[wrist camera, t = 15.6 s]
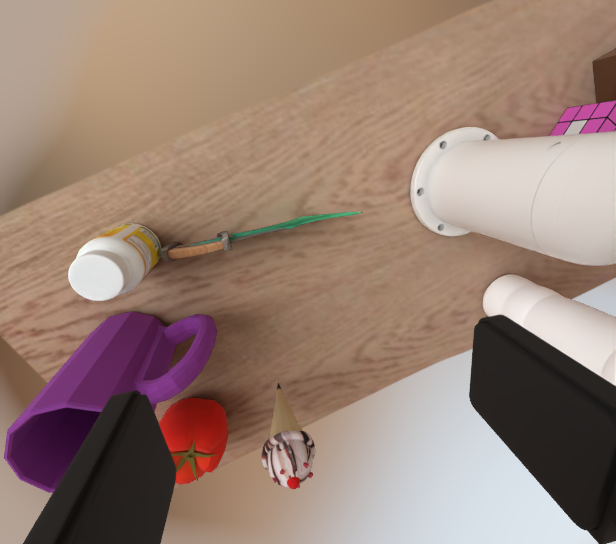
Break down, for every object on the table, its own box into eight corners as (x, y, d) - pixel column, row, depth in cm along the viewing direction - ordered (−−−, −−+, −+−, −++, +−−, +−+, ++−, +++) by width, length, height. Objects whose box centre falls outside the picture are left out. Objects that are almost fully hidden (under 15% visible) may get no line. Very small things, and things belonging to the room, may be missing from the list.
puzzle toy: (566, 173, 41) (614, 176, 36) (538, 152, 39) (584, 151, 34) (594, 131, 40) (648, 127, 34) (567, 107, 38) (619, 99, 33)
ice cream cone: (249, 391, 43) (252, 502, 29) (270, 359, 42) (283, 458, 28) (285, 404, 45) (303, 514, 31) (306, 374, 44) (335, 473, 30)
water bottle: (525, 305, 47) (795, 445, 24) (483, 324, 47) (716, 485, 24) (520, 264, 45) (819, 379, 21) (476, 285, 44) (730, 423, 21)
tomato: (193, 450, 44) (184, 504, 38) (145, 415, 41) (125, 467, 34) (245, 412, 44) (246, 459, 37) (201, 373, 41) (193, 418, 34)
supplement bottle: (166, 230, 34) (139, 256, 25) (157, 275, 35) (128, 315, 26) (111, 215, 32) (61, 237, 23) (103, 263, 34) (54, 301, 25)
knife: (167, 257, 35) (155, 273, 30) (161, 242, 34) (148, 255, 30) (349, 213, 37) (364, 221, 33) (347, 198, 36) (362, 203, 32)
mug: (74, 332, 36) (-33, 443, 22) (197, 271, 36) (170, 341, 22) (125, 387, 39) (61, 513, 25) (237, 331, 40) (234, 425, 26)
